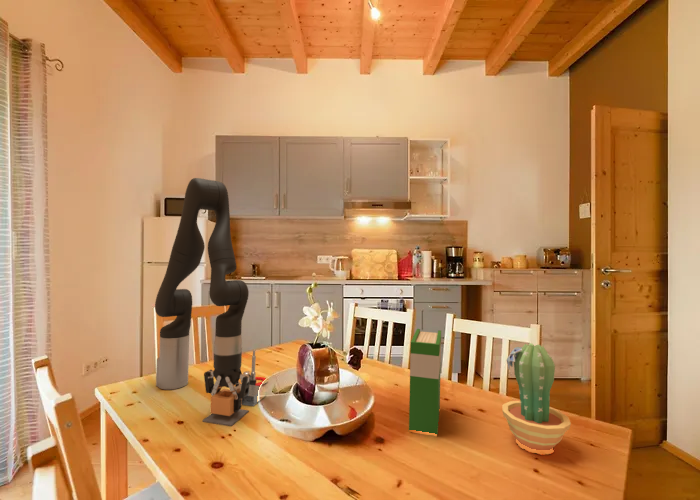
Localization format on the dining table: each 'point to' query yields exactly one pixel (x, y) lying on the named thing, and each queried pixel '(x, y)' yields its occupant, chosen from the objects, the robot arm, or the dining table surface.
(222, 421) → the pad
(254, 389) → the vise block
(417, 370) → the hardback book
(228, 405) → the link
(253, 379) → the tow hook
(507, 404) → the potted cactus
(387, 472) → the dining table surface
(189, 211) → the robot arm
